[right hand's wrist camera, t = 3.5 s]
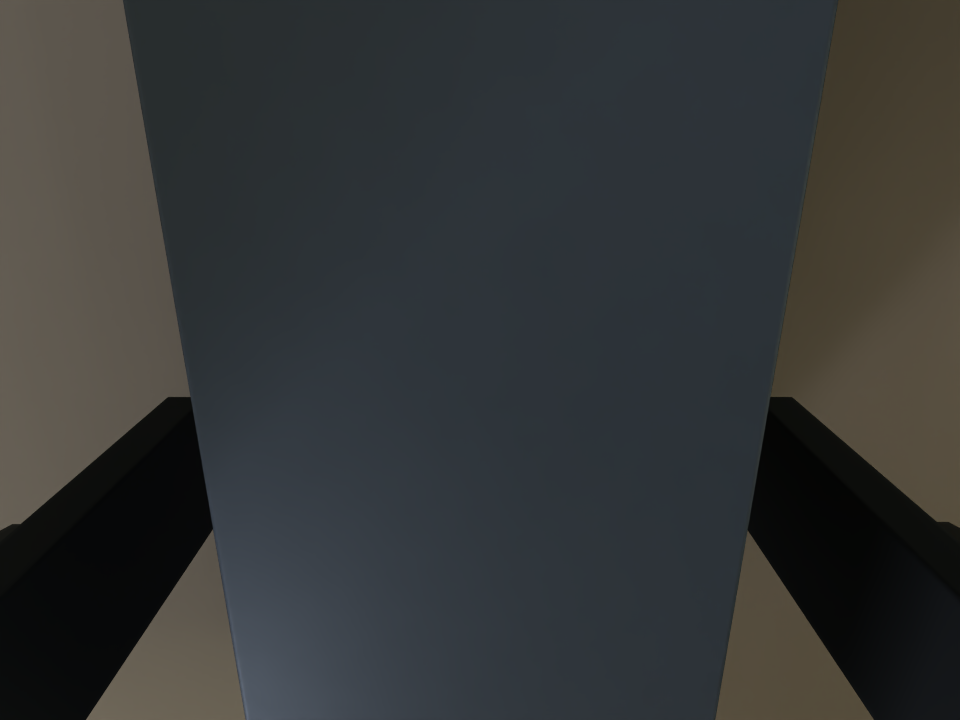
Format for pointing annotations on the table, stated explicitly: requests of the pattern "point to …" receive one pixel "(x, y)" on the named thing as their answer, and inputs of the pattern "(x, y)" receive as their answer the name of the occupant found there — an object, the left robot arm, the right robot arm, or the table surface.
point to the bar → (480, 335)
